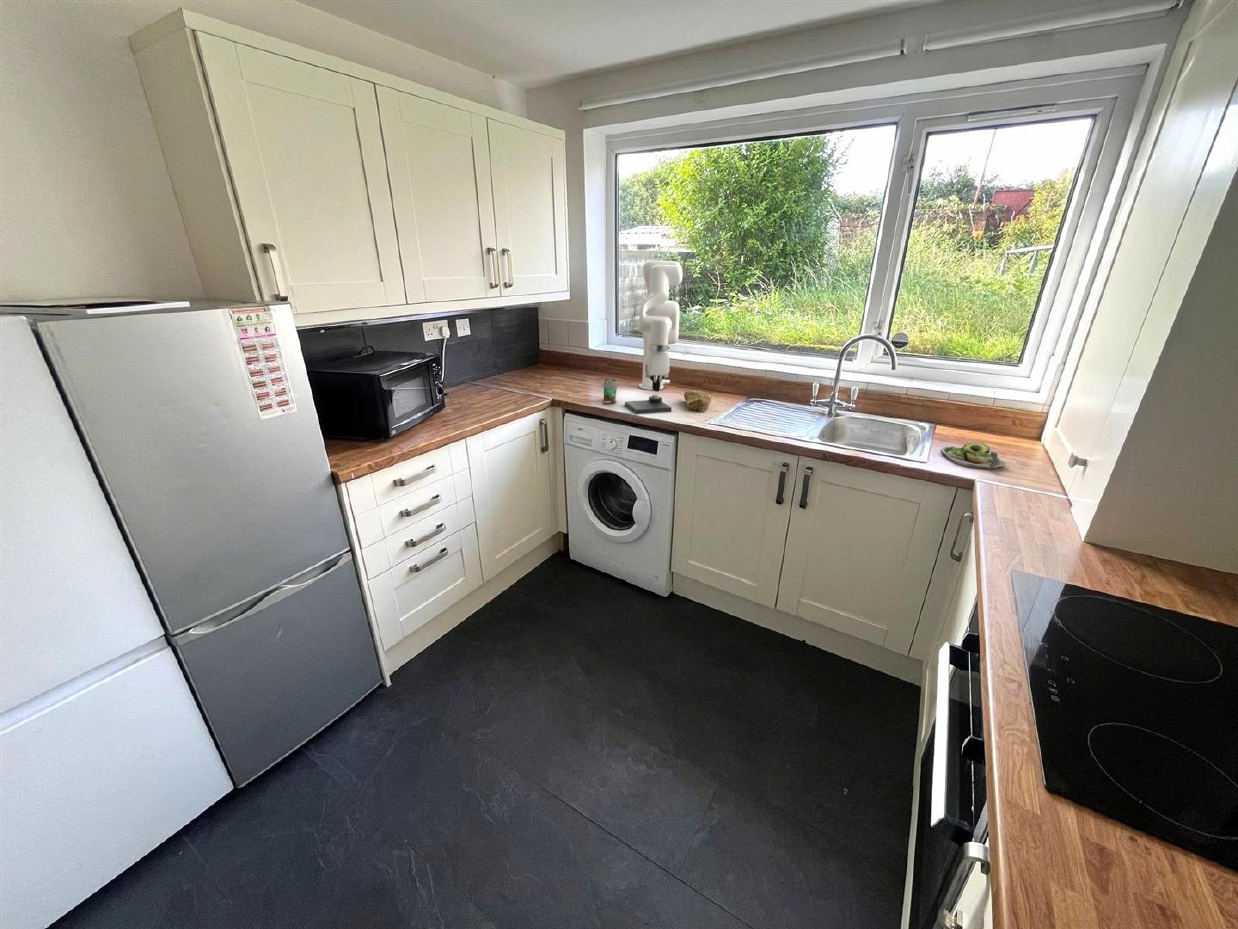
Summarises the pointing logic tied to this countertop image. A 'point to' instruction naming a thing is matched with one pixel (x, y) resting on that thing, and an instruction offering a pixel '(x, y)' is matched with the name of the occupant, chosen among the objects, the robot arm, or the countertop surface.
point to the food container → (610, 390)
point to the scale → (648, 406)
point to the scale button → (655, 396)
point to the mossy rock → (697, 400)
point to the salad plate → (973, 456)
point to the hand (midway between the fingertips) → (655, 390)
